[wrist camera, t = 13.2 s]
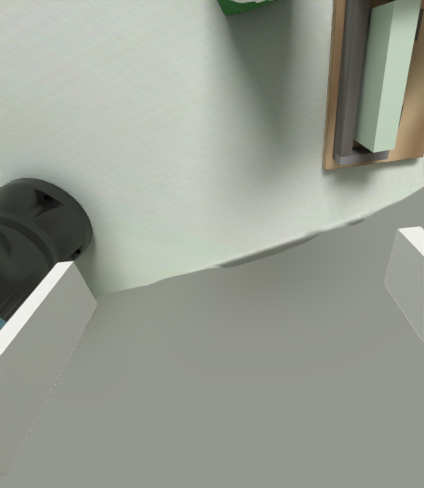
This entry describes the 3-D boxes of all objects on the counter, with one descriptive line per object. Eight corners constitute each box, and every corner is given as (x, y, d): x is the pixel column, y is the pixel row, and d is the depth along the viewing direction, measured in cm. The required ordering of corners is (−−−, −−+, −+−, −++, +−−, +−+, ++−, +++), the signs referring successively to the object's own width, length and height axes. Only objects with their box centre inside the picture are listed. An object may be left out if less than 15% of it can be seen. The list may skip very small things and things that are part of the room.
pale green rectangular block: (349, 136, 34) (373, 152, 28) (359, 12, 27) (394, 0, 21) (372, 132, 33) (401, 147, 28) (389, 5, 27) (432, -9, 21)
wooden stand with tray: (322, 166, 37) (352, 202, 28) (336, -35, 26) (392, -85, 17) (417, 154, 36) (482, 188, 26) (474, -67, 24) (621, -141, 15)
